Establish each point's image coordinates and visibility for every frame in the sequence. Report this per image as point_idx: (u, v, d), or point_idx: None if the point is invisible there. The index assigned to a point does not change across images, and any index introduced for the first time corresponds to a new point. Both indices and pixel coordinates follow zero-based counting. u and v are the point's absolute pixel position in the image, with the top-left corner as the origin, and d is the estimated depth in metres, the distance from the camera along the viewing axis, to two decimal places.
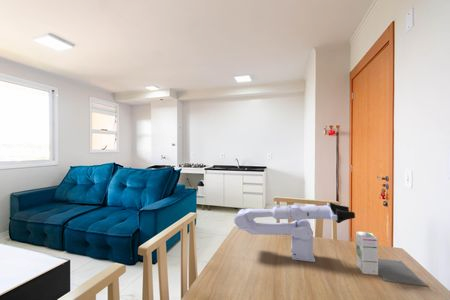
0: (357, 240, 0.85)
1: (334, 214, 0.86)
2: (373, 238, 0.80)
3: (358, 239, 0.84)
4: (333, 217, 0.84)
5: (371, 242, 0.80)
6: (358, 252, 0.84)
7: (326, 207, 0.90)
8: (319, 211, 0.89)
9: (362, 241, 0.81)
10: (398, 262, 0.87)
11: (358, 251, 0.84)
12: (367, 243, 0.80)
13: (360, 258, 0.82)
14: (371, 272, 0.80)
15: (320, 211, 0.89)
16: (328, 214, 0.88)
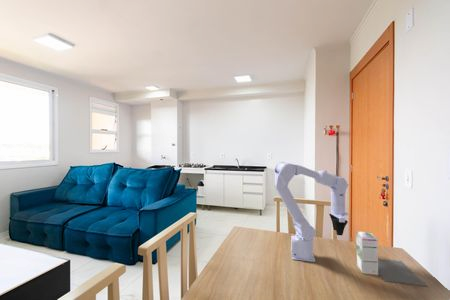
0: (357, 240, 0.85)
1: None
2: (373, 238, 0.80)
3: (358, 239, 0.84)
4: (342, 219, 0.87)
5: (371, 242, 0.80)
6: (358, 252, 0.84)
7: (344, 212, 0.93)
8: (342, 205, 0.92)
9: (362, 241, 0.81)
10: (398, 262, 0.87)
11: (358, 251, 0.84)
12: (367, 243, 0.80)
13: (360, 258, 0.82)
14: (371, 272, 0.80)
15: (342, 206, 0.92)
16: (339, 213, 0.92)
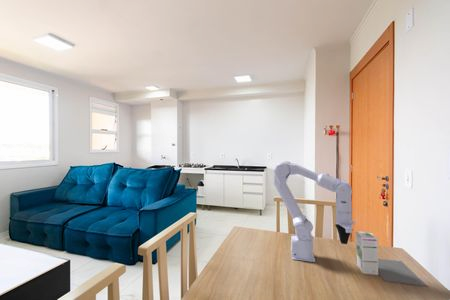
0: (357, 240, 0.85)
1: None
2: (373, 238, 0.80)
3: (358, 239, 0.84)
4: (349, 229, 0.79)
5: (371, 242, 0.80)
6: (358, 252, 0.84)
7: (351, 221, 0.84)
8: (348, 214, 0.83)
9: (362, 241, 0.81)
10: (398, 262, 0.87)
11: (358, 251, 0.84)
12: (367, 243, 0.80)
13: (360, 258, 0.82)
14: (371, 272, 0.80)
15: (348, 215, 0.83)
16: (345, 222, 0.83)
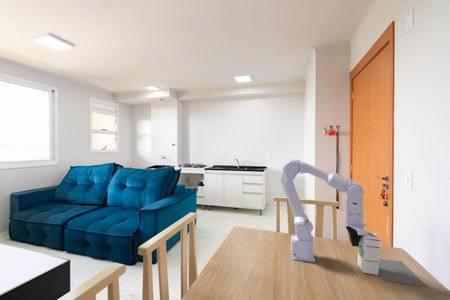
0: None
1: None
2: (376, 238, 0.80)
3: (361, 238, 0.83)
4: (361, 231, 0.77)
5: (374, 242, 0.80)
6: (360, 251, 0.83)
7: (362, 223, 0.82)
8: (360, 216, 0.81)
9: (365, 240, 0.80)
10: (398, 262, 0.87)
11: (360, 250, 0.84)
12: (370, 242, 0.80)
13: (361, 257, 0.82)
14: (371, 271, 0.80)
15: (360, 217, 0.81)
16: (357, 224, 0.81)
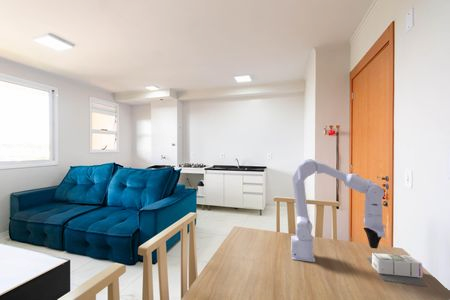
0: (405, 256, 0.81)
1: None
2: (421, 273, 0.77)
3: (410, 258, 0.80)
4: (382, 233, 0.75)
5: (416, 271, 0.77)
6: (394, 257, 0.81)
7: (382, 224, 0.80)
8: (379, 217, 0.79)
9: (417, 263, 0.77)
10: None
11: (395, 256, 0.81)
12: (415, 267, 0.77)
13: (392, 258, 0.80)
14: (381, 267, 0.80)
15: (379, 218, 0.79)
16: (376, 226, 0.79)
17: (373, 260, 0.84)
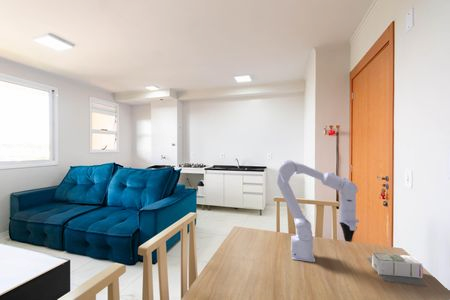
0: (406, 257, 0.81)
1: None
2: (421, 274, 0.77)
3: (410, 258, 0.80)
4: (353, 227, 0.81)
5: (417, 272, 0.77)
6: (394, 257, 0.81)
7: (355, 219, 0.86)
8: (353, 212, 0.85)
9: (417, 263, 0.77)
10: None
11: (395, 257, 0.81)
12: (415, 268, 0.77)
13: (392, 259, 0.80)
14: (381, 268, 0.79)
15: (353, 213, 0.85)
16: (349, 220, 0.85)
17: (373, 260, 0.83)
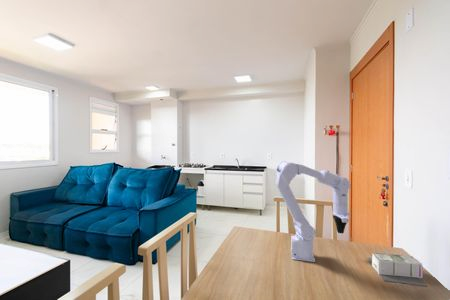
0: (406, 257, 0.81)
1: None
2: (421, 274, 0.77)
3: (410, 258, 0.80)
4: (345, 219, 0.87)
5: (417, 272, 0.77)
6: (394, 257, 0.81)
7: (347, 212, 0.92)
8: (344, 205, 0.91)
9: (417, 263, 0.77)
10: None
11: (395, 257, 0.81)
12: (415, 268, 0.77)
13: (392, 259, 0.80)
14: (381, 268, 0.79)
15: (344, 206, 0.91)
16: (341, 213, 0.91)
17: (373, 260, 0.83)
